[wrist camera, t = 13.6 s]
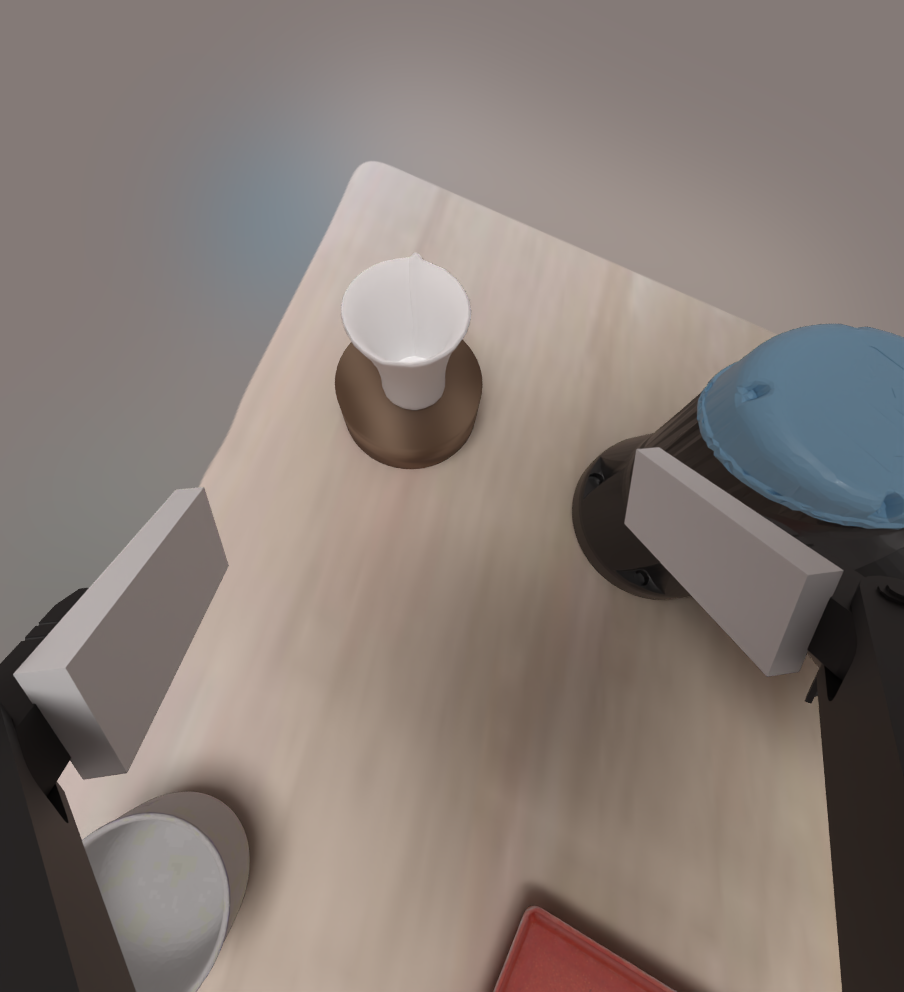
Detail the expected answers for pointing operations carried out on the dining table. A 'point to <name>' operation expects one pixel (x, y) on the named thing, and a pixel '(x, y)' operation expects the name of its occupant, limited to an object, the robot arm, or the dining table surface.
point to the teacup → (171, 886)
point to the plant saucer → (566, 961)
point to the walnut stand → (408, 411)
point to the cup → (407, 325)
